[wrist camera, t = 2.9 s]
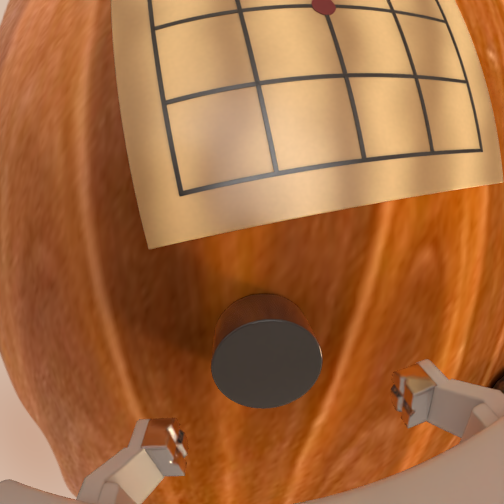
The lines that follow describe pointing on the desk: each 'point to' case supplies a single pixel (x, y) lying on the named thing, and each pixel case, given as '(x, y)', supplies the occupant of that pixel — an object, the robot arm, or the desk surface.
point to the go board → (295, 108)
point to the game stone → (264, 352)
